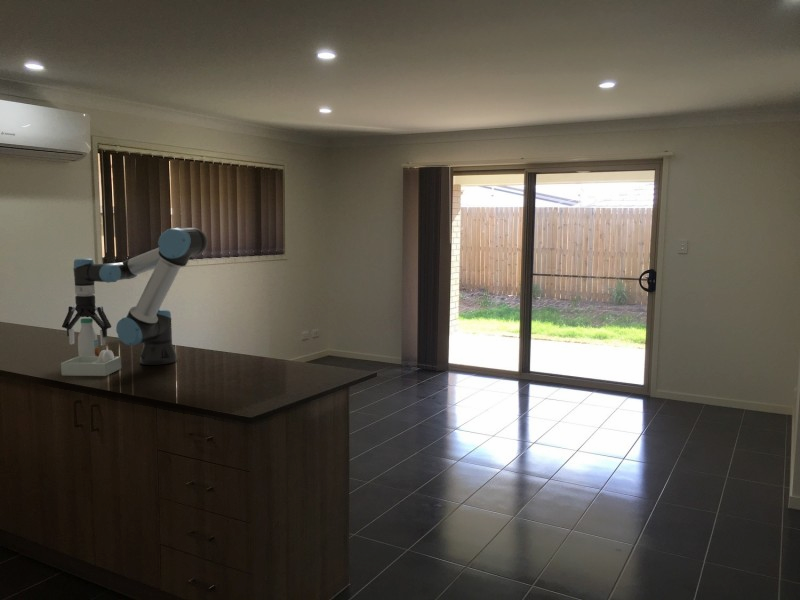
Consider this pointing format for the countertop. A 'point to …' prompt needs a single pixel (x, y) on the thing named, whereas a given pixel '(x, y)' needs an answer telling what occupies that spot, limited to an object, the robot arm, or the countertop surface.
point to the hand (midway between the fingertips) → (87, 344)
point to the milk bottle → (87, 339)
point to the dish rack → (92, 365)
